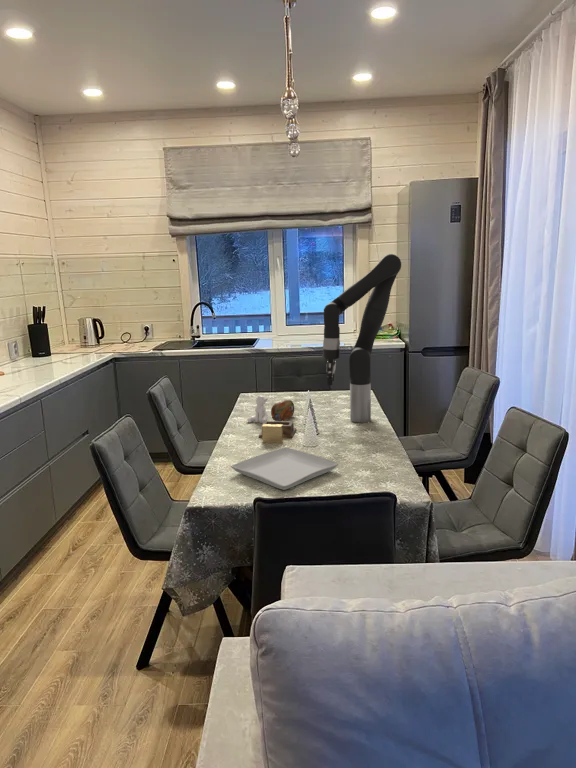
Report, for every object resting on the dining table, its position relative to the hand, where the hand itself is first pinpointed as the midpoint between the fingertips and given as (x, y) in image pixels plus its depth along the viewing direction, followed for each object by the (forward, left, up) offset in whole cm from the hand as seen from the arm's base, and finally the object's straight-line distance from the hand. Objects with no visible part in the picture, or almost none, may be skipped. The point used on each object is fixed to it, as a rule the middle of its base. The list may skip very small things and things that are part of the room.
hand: (330, 383), depth 254 cm
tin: (+23, 0, -18) cm, 29 cm away
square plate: (+10, +68, -18) cm, 71 cm away
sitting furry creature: (+33, +4, -17) cm, 37 cm away
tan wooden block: (+21, +34, -17) cm, 43 cm away
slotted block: (+21, +23, -17) cm, 35 cm away
